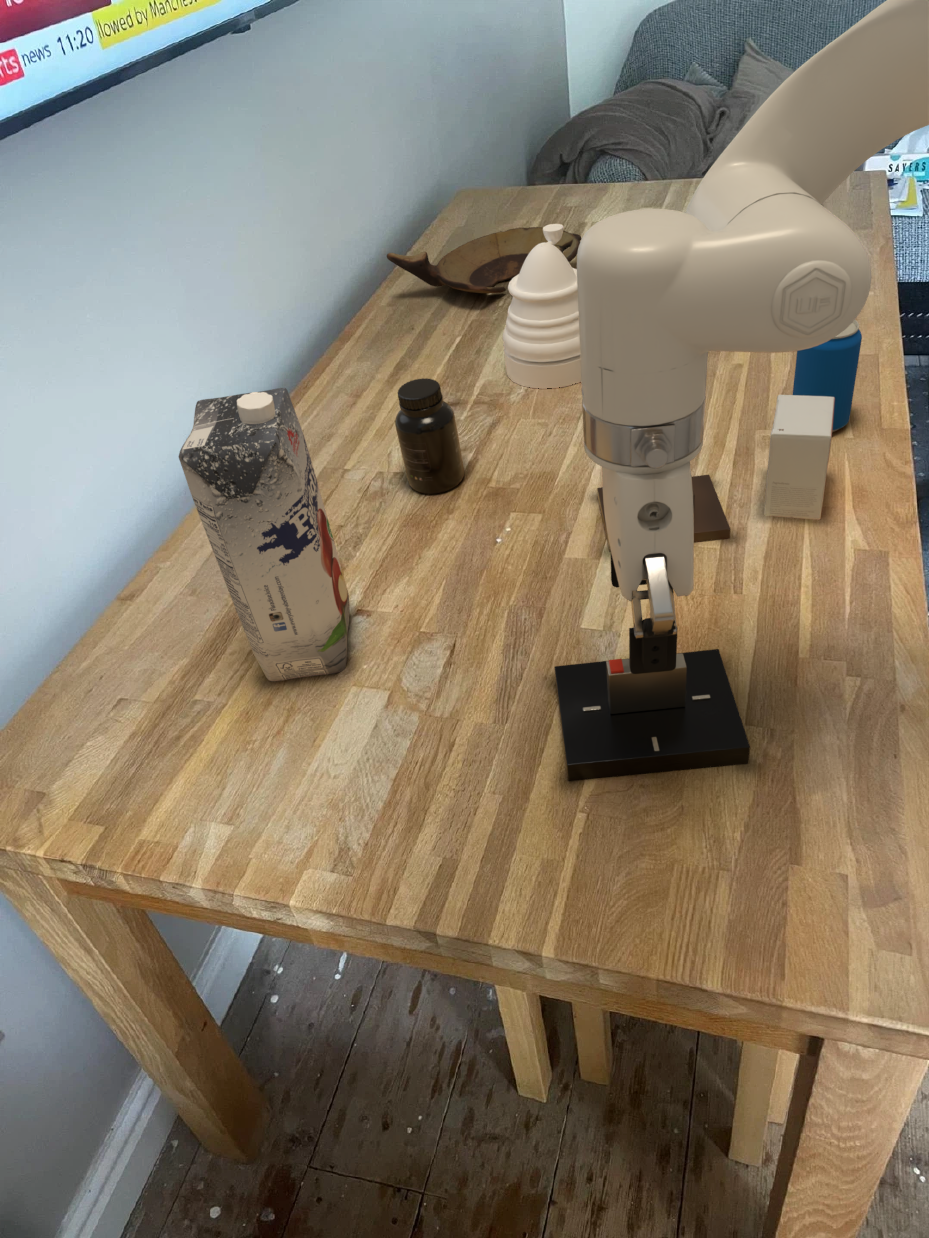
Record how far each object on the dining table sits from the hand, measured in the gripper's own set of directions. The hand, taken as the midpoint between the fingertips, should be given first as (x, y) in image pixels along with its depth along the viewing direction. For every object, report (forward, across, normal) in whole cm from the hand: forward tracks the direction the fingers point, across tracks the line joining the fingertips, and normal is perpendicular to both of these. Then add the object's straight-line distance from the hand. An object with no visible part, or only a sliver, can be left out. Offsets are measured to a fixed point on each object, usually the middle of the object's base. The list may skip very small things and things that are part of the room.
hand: (641, 624), depth 70 cm
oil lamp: (+12, +99, +8) cm, 100 cm away
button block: (+12, +28, -6) cm, 31 cm away
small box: (+12, +29, -20) cm, 37 cm away
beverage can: (+12, +44, -28) cm, 53 cm away
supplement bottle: (+12, +42, +18) cm, 47 cm away
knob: (+9, 0, 0) cm, 9 cm away
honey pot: (+12, +67, +2) cm, 68 cm away
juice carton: (+12, +14, +30) cm, 35 cm away
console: (+12, 0, 0) cm, 12 cm away
